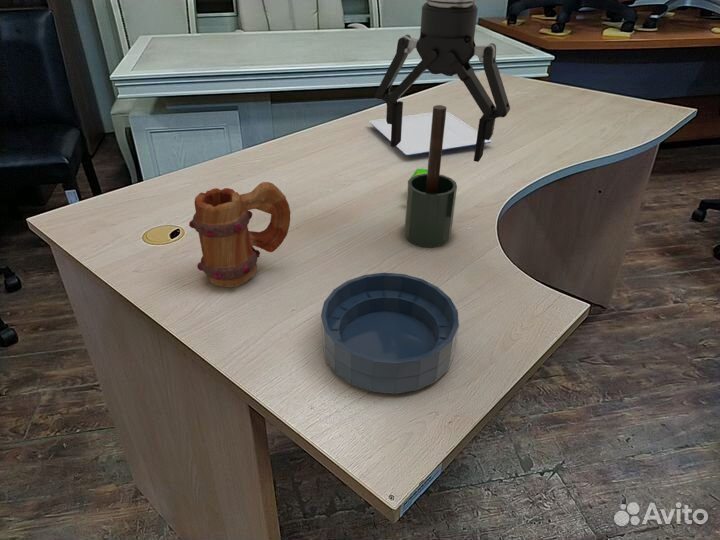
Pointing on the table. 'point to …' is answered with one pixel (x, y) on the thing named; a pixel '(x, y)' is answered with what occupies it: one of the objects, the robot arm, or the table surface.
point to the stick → (435, 148)
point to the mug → (237, 231)
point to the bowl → (389, 332)
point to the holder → (429, 212)
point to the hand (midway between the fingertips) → (435, 151)
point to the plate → (428, 133)
